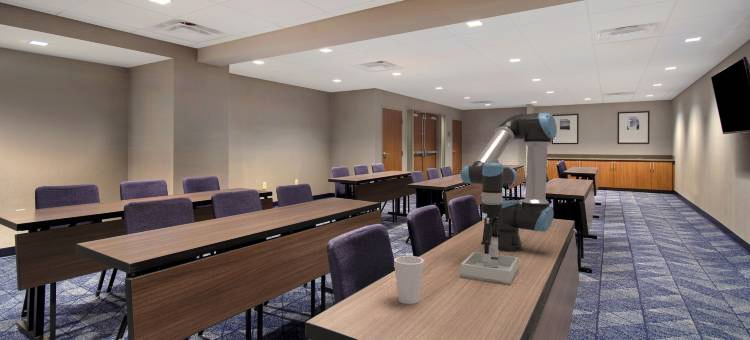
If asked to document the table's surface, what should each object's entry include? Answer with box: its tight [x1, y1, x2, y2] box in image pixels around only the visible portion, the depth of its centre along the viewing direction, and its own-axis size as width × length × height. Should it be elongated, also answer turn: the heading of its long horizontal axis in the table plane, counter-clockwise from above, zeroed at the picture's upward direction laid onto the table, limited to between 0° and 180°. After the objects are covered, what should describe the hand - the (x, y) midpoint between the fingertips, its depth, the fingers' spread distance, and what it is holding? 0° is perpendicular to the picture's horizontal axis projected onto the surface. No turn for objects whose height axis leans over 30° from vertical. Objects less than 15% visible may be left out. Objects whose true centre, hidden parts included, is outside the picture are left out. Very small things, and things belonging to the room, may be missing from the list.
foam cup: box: [393, 255, 425, 305], centre depth 125 cm, size 10×9×13 cm
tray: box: [459, 251, 519, 286], centre depth 152 cm, size 20×18×5 cm
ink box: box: [484, 239, 499, 269], centre depth 152 cm, size 9×5×12 cm, turn 168°
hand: (490, 257), depth 152 cm, fingers open, 13 cm apart
